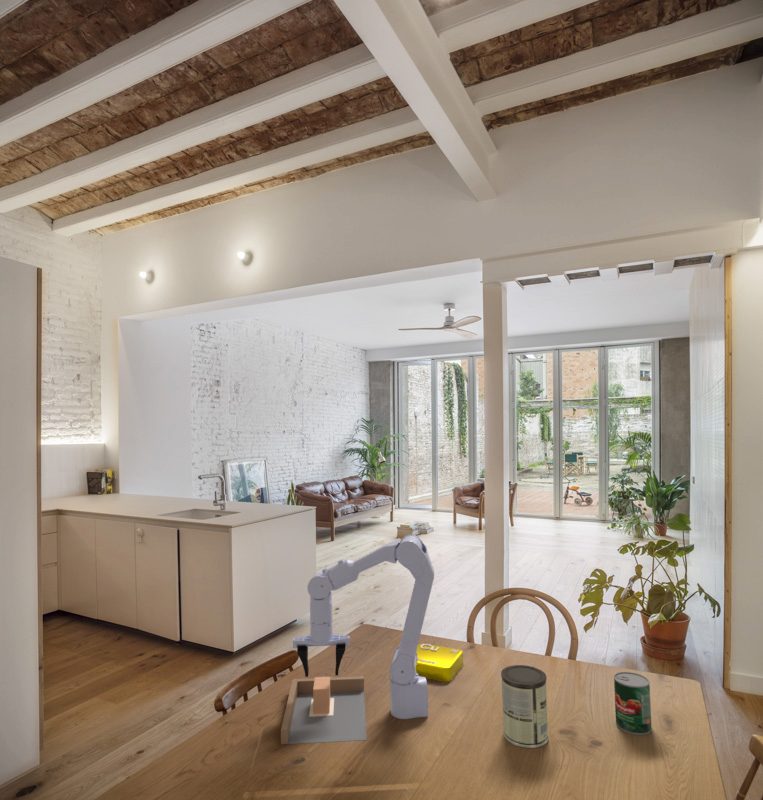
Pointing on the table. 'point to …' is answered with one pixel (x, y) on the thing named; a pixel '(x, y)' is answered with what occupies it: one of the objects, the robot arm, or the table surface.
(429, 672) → the element tile
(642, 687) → the canned tomato
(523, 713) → the coffee can
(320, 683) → the block
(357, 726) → the arena
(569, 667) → the table surface
